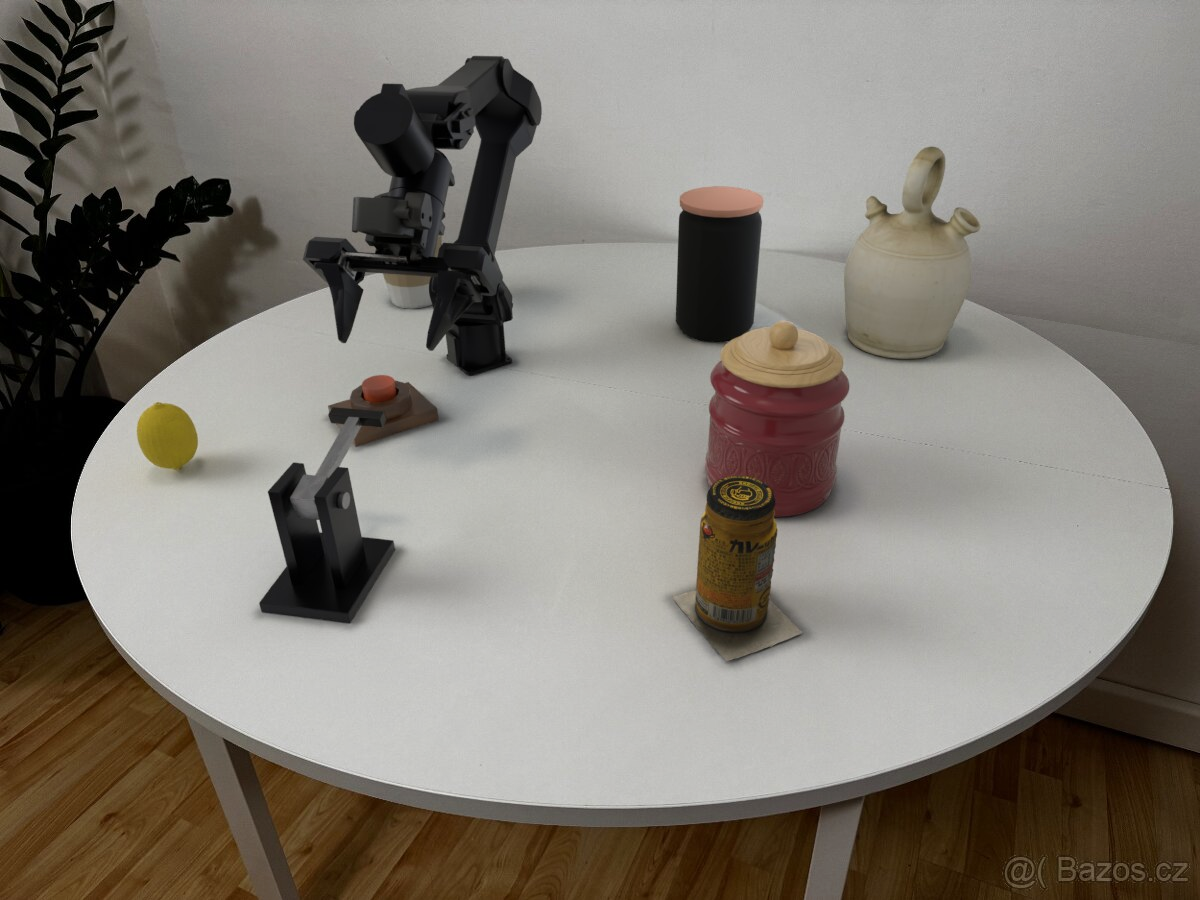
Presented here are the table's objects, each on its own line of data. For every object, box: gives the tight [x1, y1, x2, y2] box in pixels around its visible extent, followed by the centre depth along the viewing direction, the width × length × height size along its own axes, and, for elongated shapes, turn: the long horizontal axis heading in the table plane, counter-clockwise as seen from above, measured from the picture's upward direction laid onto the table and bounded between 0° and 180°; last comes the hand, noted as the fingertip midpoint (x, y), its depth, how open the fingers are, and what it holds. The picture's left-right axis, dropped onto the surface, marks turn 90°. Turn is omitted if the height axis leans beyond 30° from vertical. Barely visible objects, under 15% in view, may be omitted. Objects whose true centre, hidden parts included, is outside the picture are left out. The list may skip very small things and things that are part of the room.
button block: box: [327, 379, 440, 448], centre depth 102 cm, size 10×8×4 cm
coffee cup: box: [373, 191, 446, 310], centre depth 129 cm, size 11×11×15 cm
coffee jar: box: [675, 185, 764, 344], centre depth 118 cm, size 11×11×18 cm
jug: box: [843, 146, 981, 360], centre depth 112 cm, size 15×16×25 cm
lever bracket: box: [259, 462, 396, 624], centre depth 76 cm, size 10×8×11 cm
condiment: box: [671, 476, 803, 662], centre depth 71 cm, size 7×8×12 cm
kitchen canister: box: [704, 320, 850, 517], centre depth 86 cm, size 13×13×18 cm
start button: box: [361, 374, 396, 402], centre depth 101 cm, size 4×4×2 cm
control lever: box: [290, 407, 386, 521], centre depth 77 cm, size 12×5×2 cm, turn 169°
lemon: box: [136, 401, 199, 471], centre depth 93 cm, size 6×6×8 cm
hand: (385, 345), depth 88 cm, fingers open, 9 cm apart
